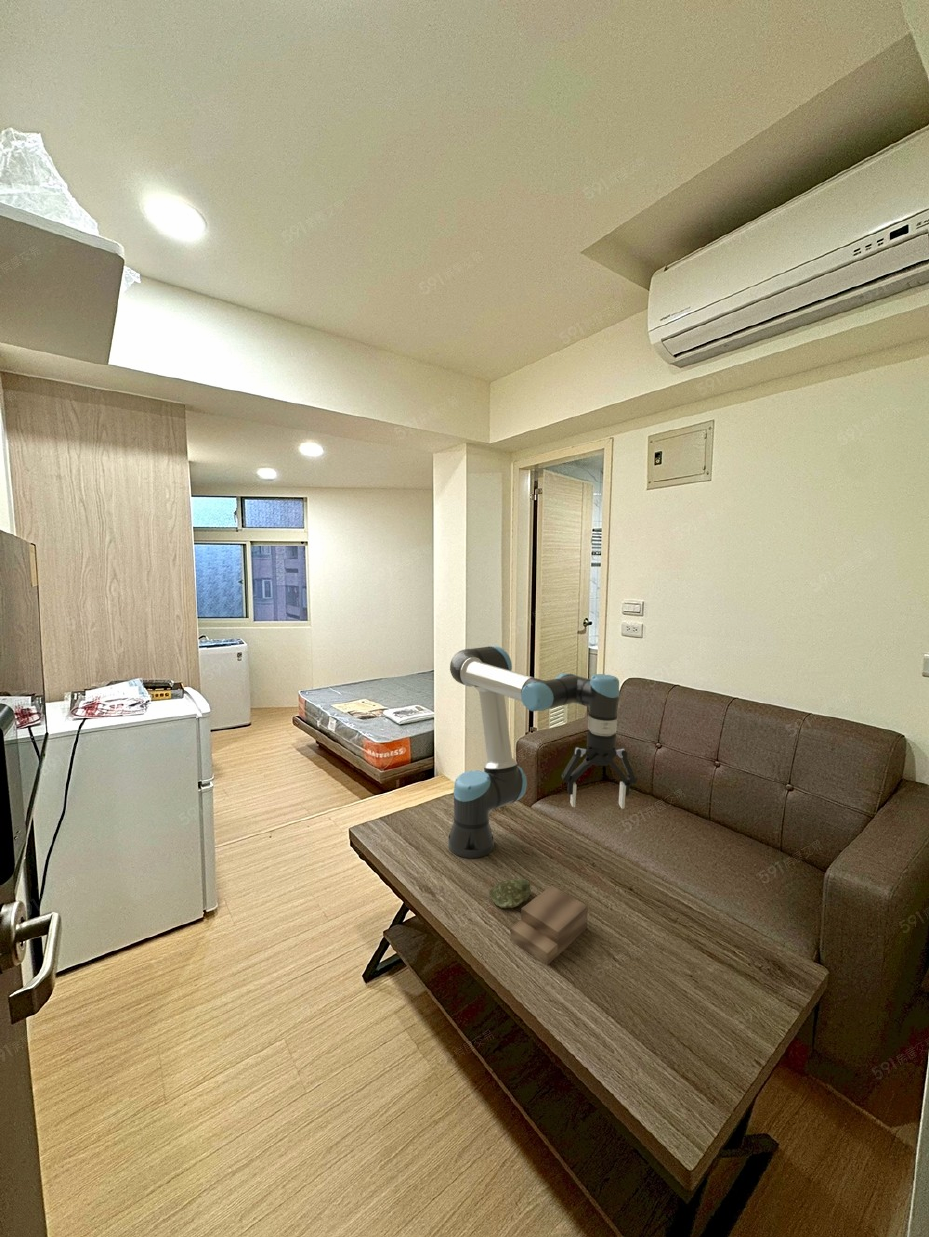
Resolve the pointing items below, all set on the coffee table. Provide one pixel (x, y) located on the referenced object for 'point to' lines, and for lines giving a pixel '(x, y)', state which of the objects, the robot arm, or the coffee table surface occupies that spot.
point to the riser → (549, 924)
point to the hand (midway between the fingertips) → (597, 805)
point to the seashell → (510, 893)
